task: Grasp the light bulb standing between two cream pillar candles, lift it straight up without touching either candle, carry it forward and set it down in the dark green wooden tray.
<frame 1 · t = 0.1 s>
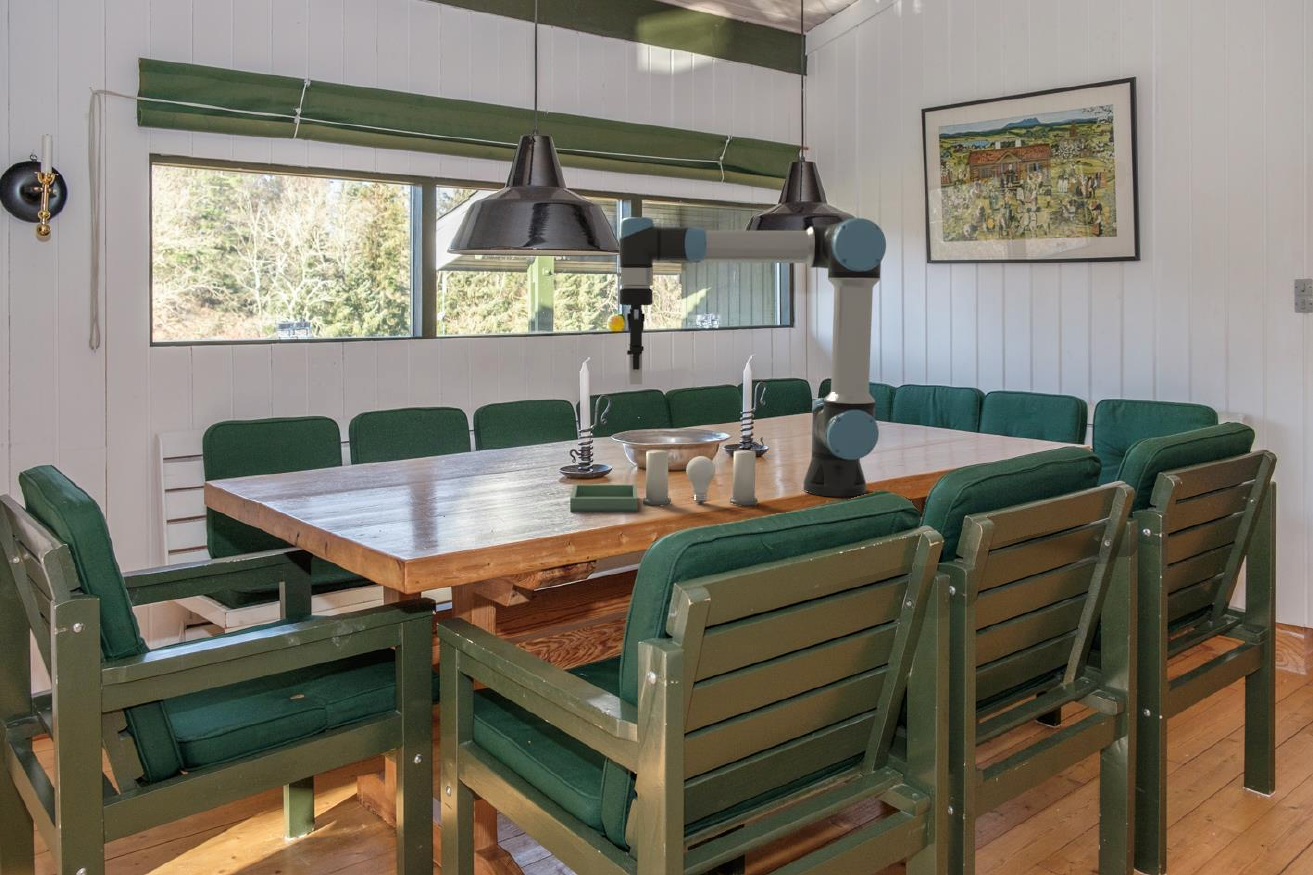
hand: (635, 381, 246), 28 cm above the table, fingers open, 13 cm apart
tray: (604, 504, 247), on the table
light bulb: (700, 504, 248), on the table
candle 2: (743, 503, 249), on the table
candle 1: (656, 503, 248), on the table
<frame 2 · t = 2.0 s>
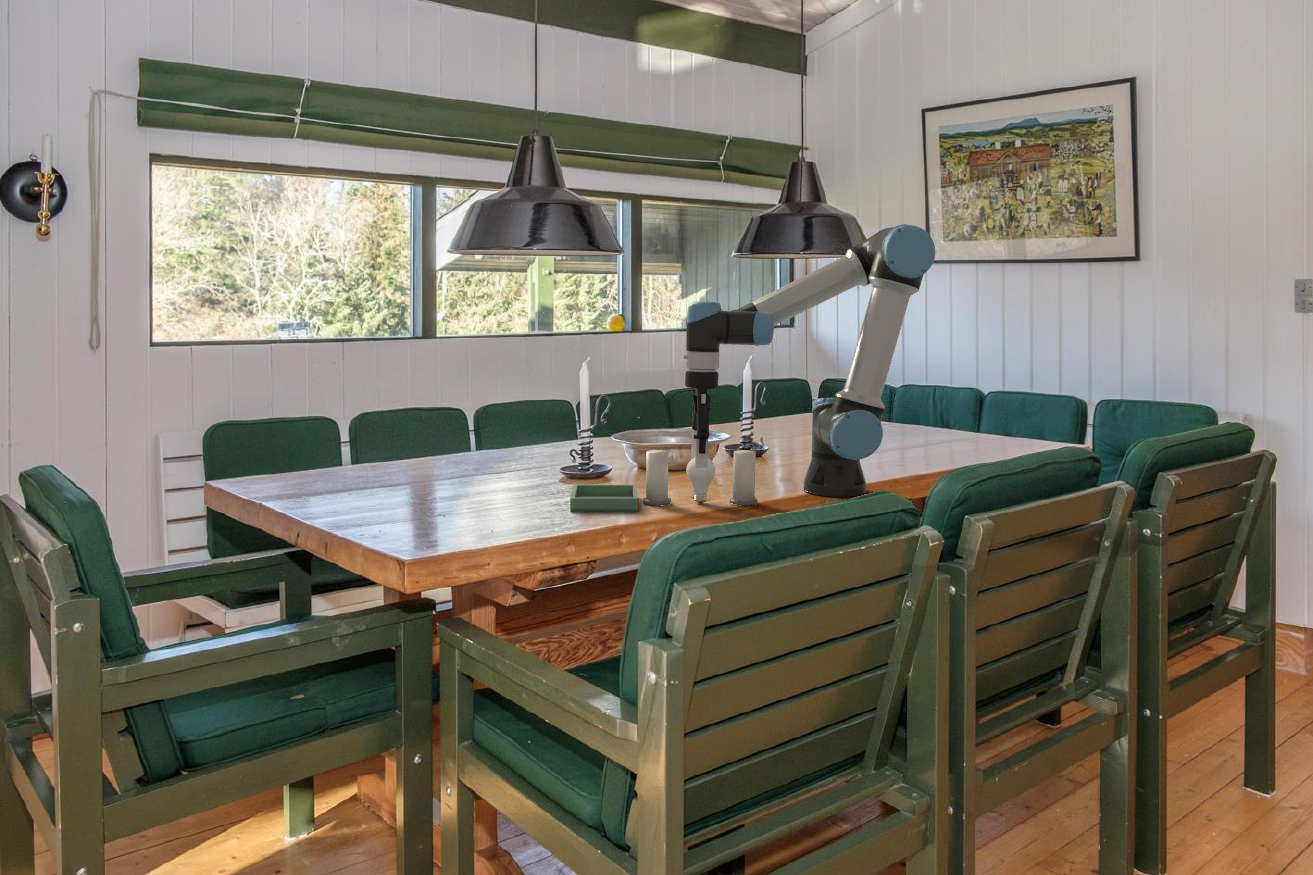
hand: (699, 463, 247), 9 cm above the table, fingers open, 13 cm apart
nothing on the table moved.
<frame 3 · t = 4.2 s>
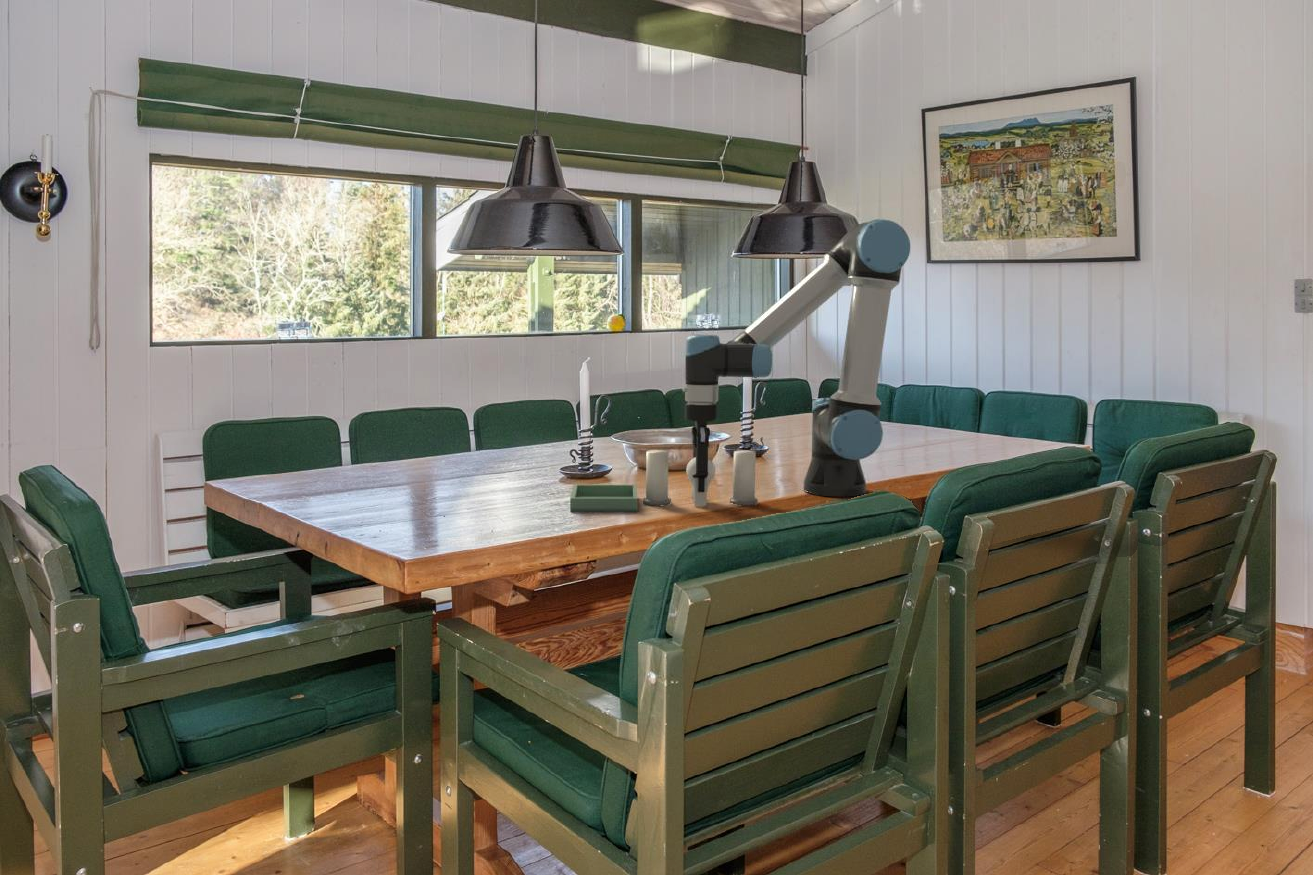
hand: (699, 502, 248), 0 cm above the table, fingers closed on light bulb, 6 cm apart
light bulb: (700, 504, 248), on the table, touching gripper
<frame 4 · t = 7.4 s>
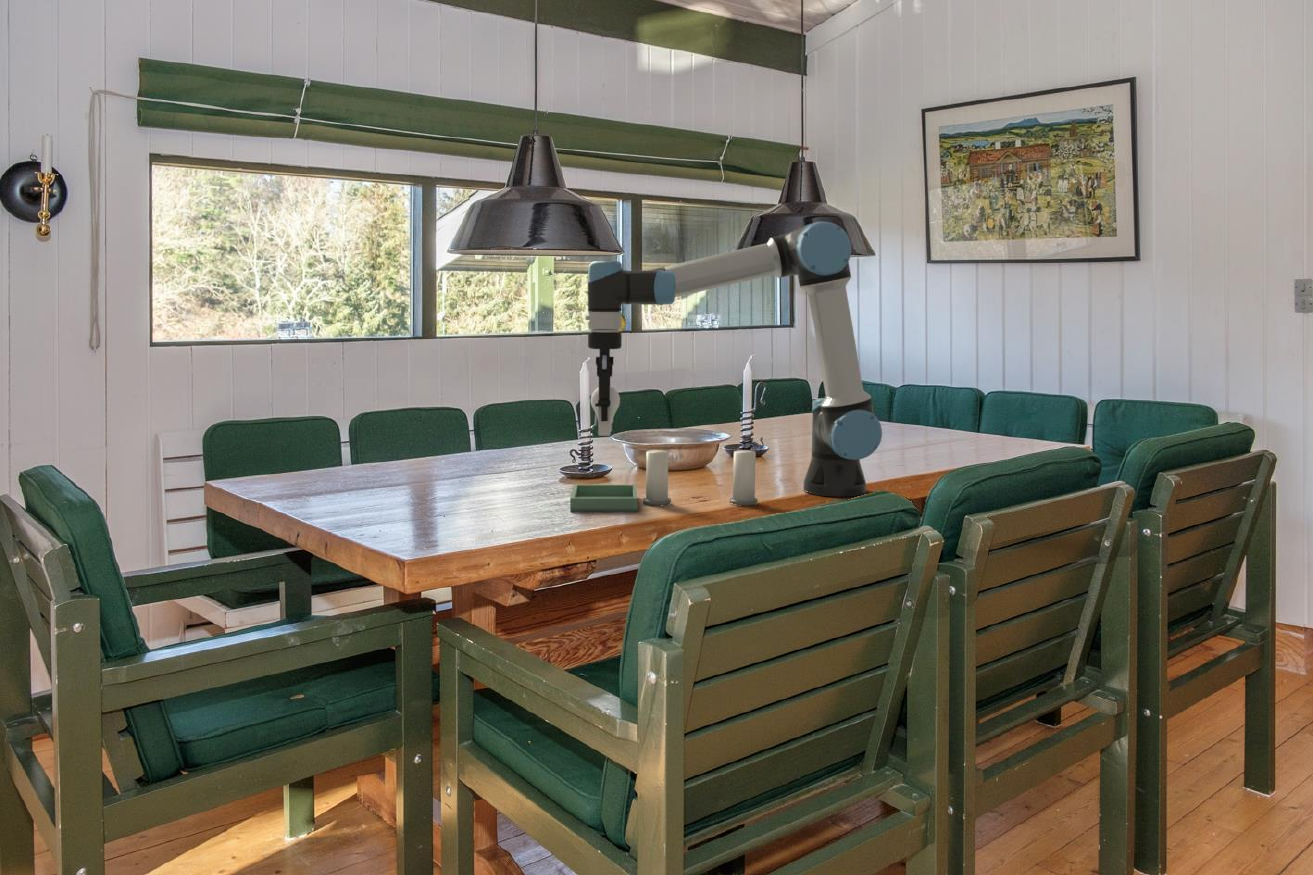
hand: (604, 433, 244), 16 cm above the table, fingers closed on light bulb, 6 cm apart
light bulb: (605, 435, 244), point 16 cm above the table, touching gripper
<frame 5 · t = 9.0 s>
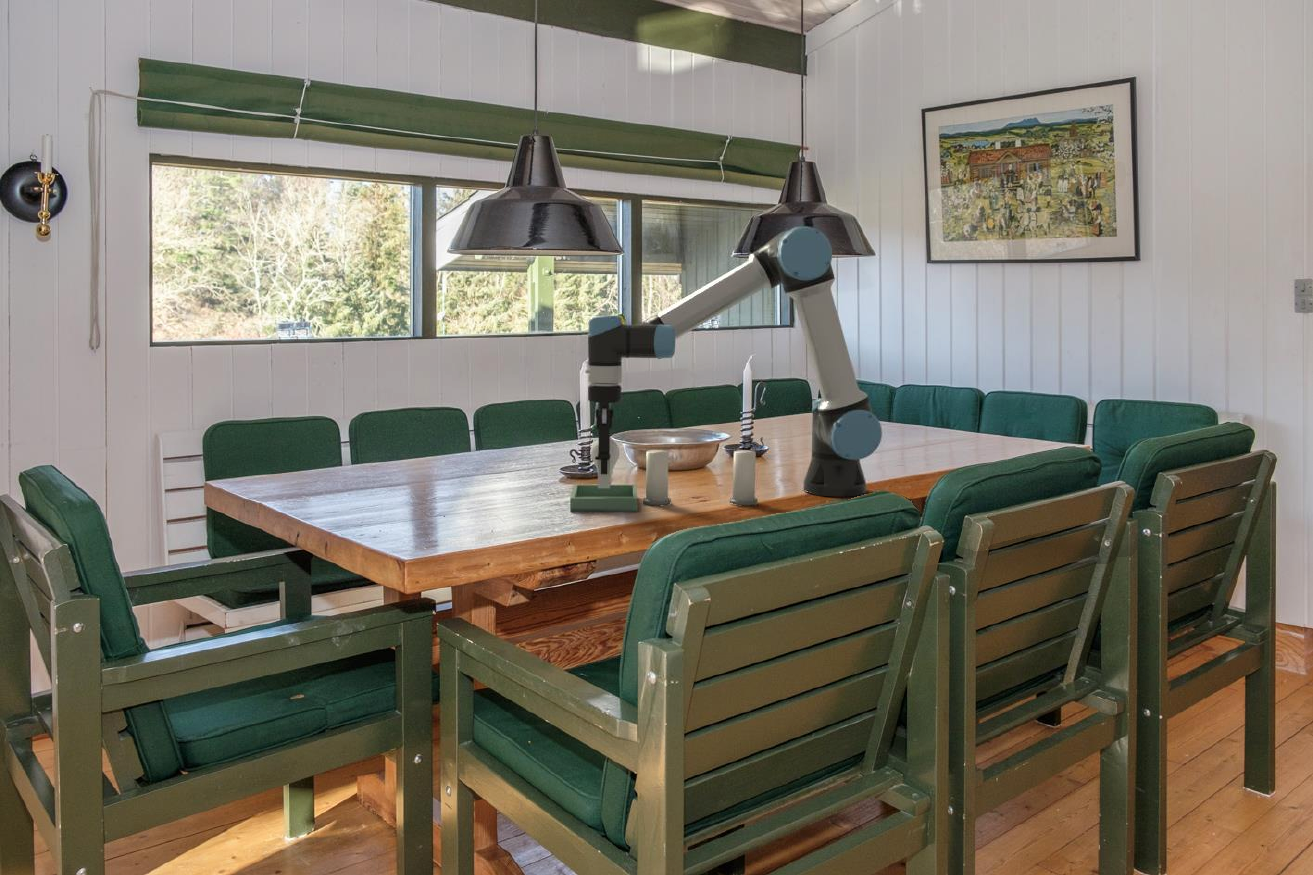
hand: (604, 485, 246), 4 cm above the table, fingers closed on light bulb, 6 cm apart
light bulb: (605, 486, 246), point 4 cm above the table, touching gripper
when the fingers open (2 cm above the table, at t = 10.2 s): light bulb moves 2 cm, point 1 cm above the table.
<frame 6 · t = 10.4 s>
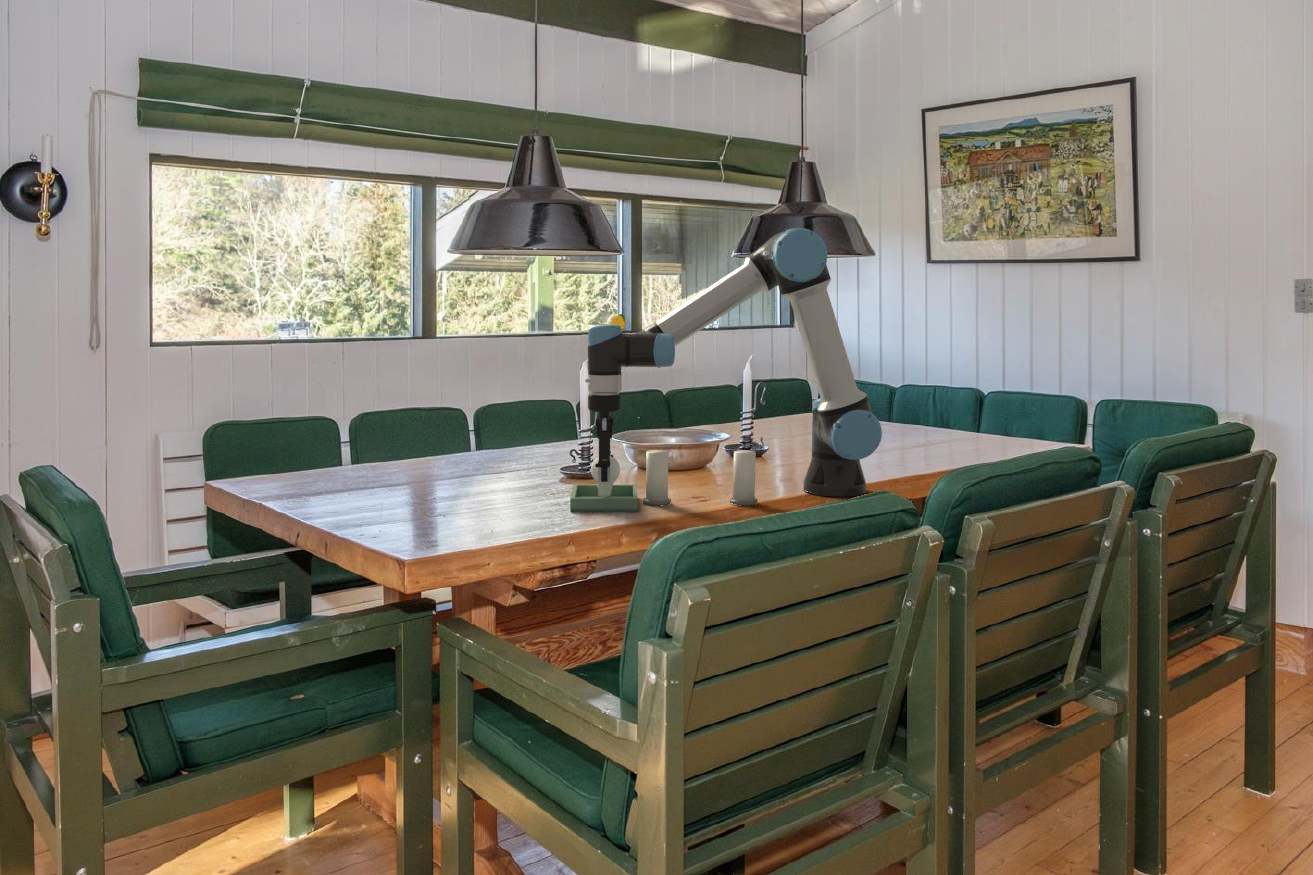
hand: (604, 491, 246), 3 cm above the table, fingers open, 9 cm apart
light bulb: (604, 497, 249), point 1 cm above the table, touching gripper
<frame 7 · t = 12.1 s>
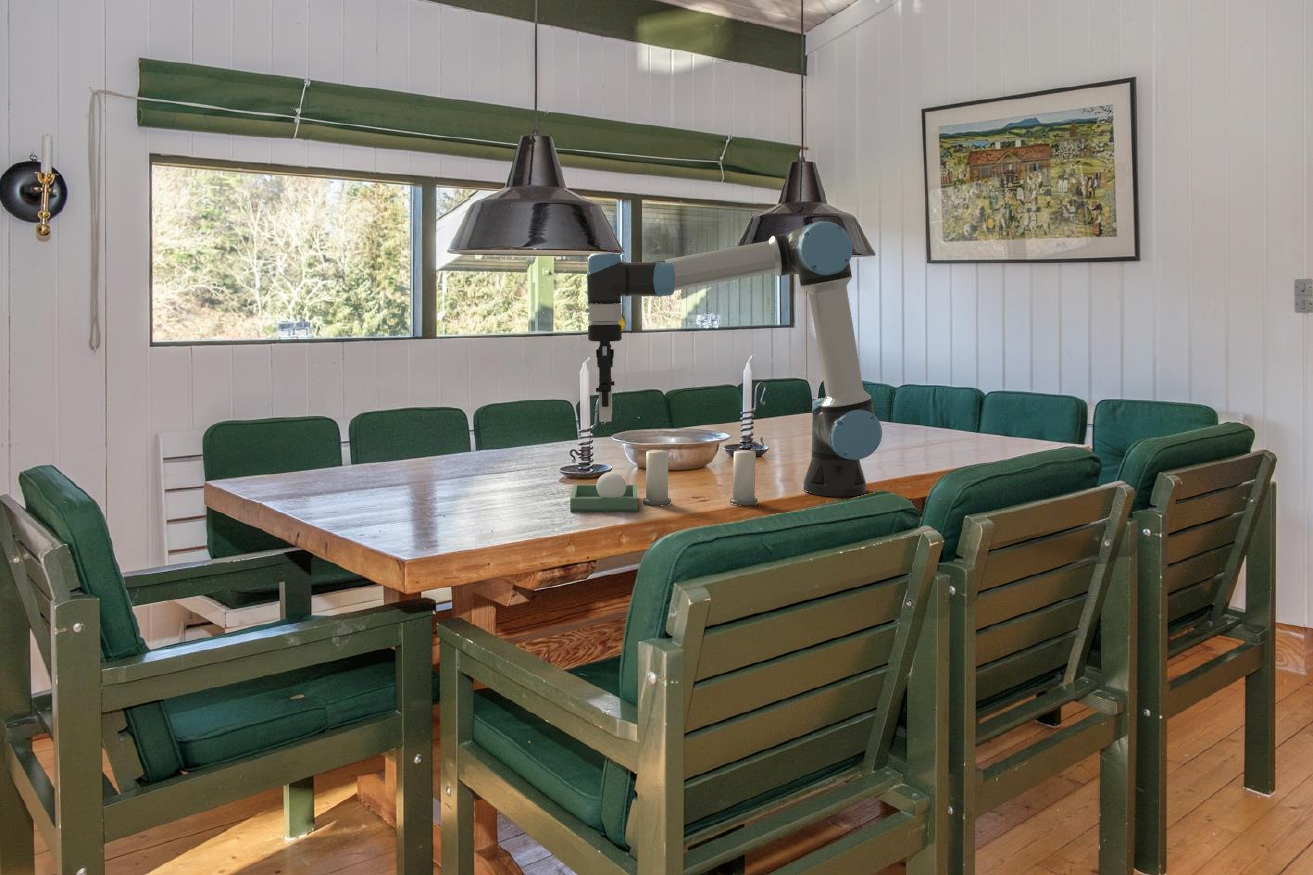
hand: (605, 417, 244), 20 cm above the table, fingers open, 13 cm apart
light bulb: (603, 495, 248), point 2 cm above the table, touching tray
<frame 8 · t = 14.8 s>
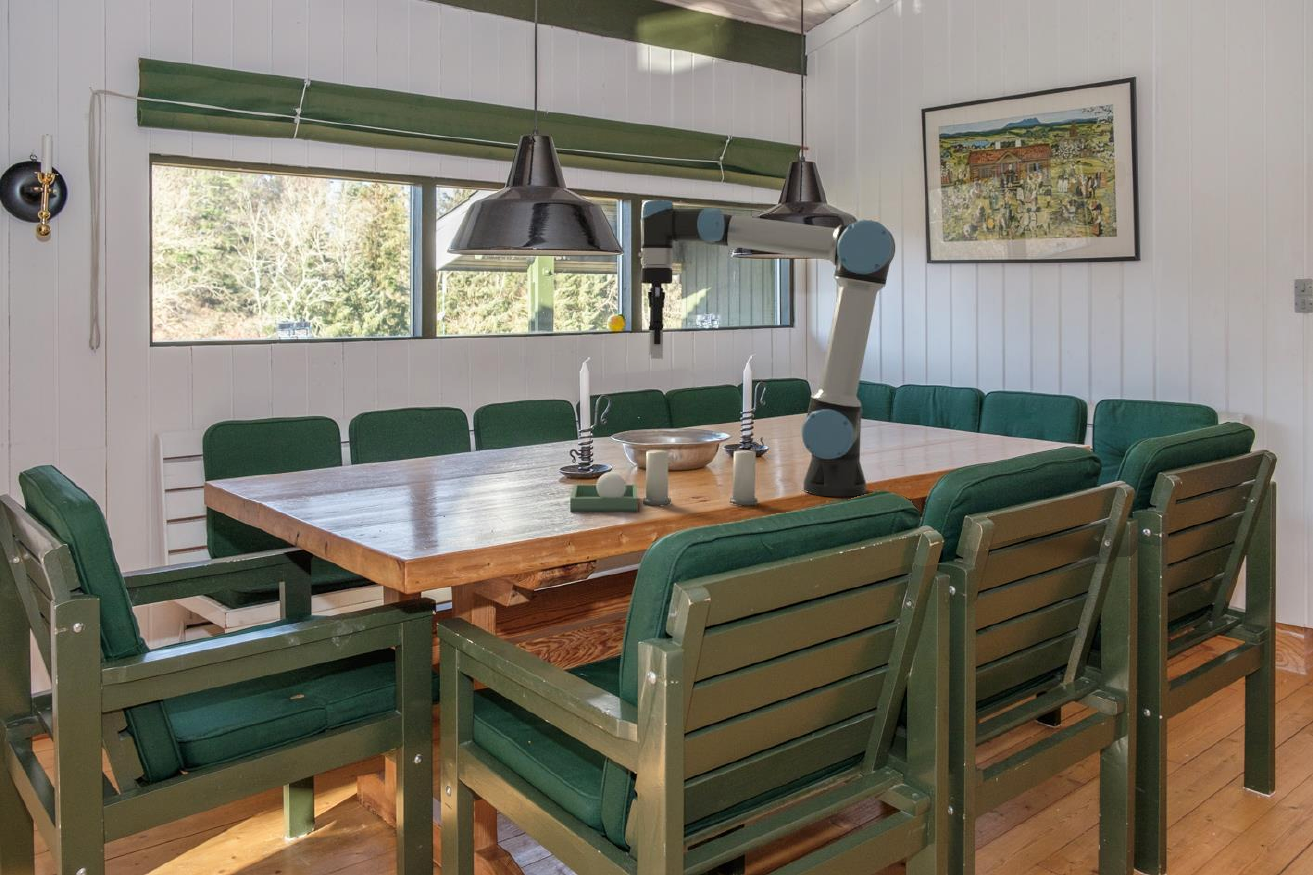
hand: (655, 356, 258), 33 cm above the table, fingers open, 13 cm apart
nothing on the table moved.
at the end: light bulb inside the target area on the tray (1.6 cm from its centre), point 1.8 cm above the tray's base; the gripper is holding nothing; light bulb moved 22.3 cm from its start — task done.
